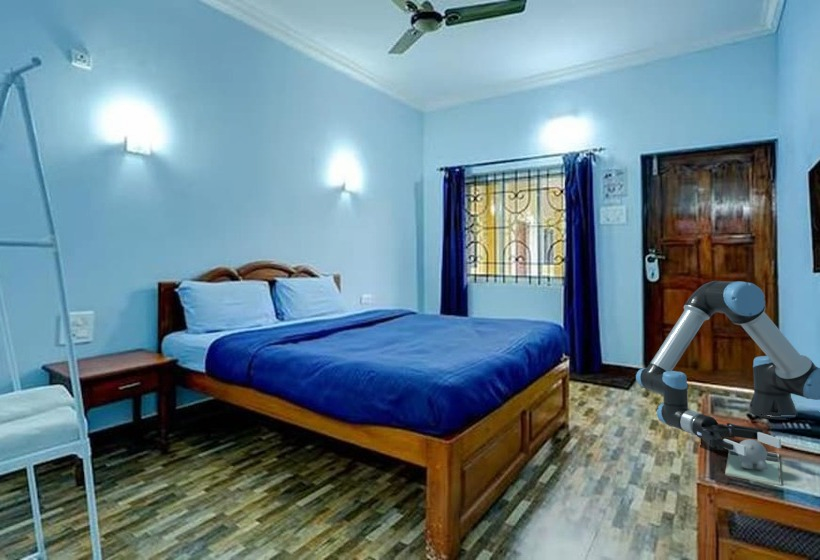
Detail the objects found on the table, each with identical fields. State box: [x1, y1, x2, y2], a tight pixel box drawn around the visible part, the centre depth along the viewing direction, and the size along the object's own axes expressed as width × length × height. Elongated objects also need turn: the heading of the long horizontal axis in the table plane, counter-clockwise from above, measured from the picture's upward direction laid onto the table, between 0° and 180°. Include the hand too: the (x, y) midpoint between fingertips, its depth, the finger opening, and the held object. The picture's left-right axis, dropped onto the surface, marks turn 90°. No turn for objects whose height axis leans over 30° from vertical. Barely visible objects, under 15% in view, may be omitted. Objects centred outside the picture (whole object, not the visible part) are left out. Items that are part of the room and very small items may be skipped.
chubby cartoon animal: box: [738, 438, 768, 470], centre depth 143 cm, size 7×12×8 cm, turn 152°
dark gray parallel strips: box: [730, 451, 778, 462], centre depth 152 cm, size 6×12×1 cm, turn 53°
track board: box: [724, 450, 782, 487], centre depth 145 cm, size 24×13×1 cm, turn 143°
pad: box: [727, 455, 779, 483], centre depth 142 cm, size 15×12×1 cm
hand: (763, 447), depth 139 cm, fingers open, 13 cm apart
